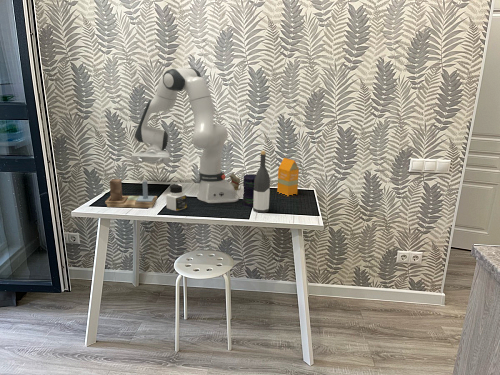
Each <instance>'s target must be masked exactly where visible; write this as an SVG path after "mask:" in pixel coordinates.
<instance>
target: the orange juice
mask: <svg viewBox="0 0 500 375" xmlns="http://www.w3.org/2000/svg"><path fill="white" fill-rule="evenodd" d="M277 168H278V169H277V187H276V188H277V191H276V193H277V192H279V193H278V194H280V193H282V194H285V195H287V196H286V197H290V196H289V195H292V196H294V195H293V194H296V195H298V189H299V187H298V186H299V174H300V173H299V172H300V168H299V167H298V165H297V162H296V160H294V159H291V158H287V157H283V159H282V161H281V163H280V164H279V166H278V167H277ZM282 194H281V195H282ZM285 195H284V196H285Z"/></svg>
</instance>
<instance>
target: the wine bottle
mask: <svg viewBox="0 0 500 375" xmlns="http://www.w3.org/2000/svg"><path fill="white" fill-rule="evenodd" d="M259 164H260V165H259V166H260V167H259V168H258V170H257V172H256V176H255V180H254V202H253V207H252V209H253V210H252V211H253V212H255V213H256V214H257V213H259V214H265V213H268V212H269V210H270V190H271V189H270V188H271V178H270V175H269V171H268V170H267V167H266V151H265V150H261V152H260V163H259Z"/></svg>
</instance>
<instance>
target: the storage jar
mask: <svg viewBox="0 0 500 375" xmlns="http://www.w3.org/2000/svg"><path fill="white" fill-rule="evenodd" d="M256 174H257V173H256ZM256 174H255V173H253V174H252V173H248V174H245V175H243V180H242V183H243V184H242V186H243V193H242V206H244V207H247V208H253V202H254V180H255V176H256Z"/></svg>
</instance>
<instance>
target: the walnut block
mask: <svg viewBox="0 0 500 375" xmlns="http://www.w3.org/2000/svg"><path fill="white" fill-rule="evenodd" d="M109 192H110V196H111V201H122V200H123V199H122V196H123V186H122V179H121V178H111V180H109Z"/></svg>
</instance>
